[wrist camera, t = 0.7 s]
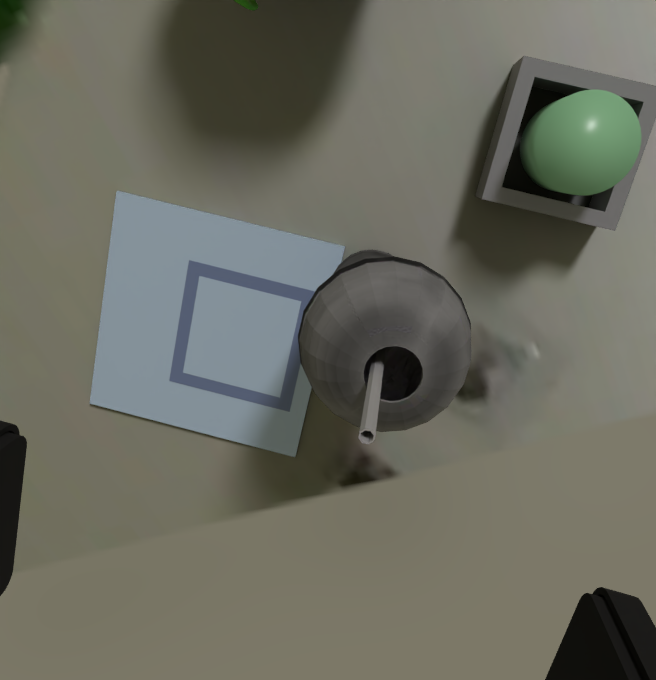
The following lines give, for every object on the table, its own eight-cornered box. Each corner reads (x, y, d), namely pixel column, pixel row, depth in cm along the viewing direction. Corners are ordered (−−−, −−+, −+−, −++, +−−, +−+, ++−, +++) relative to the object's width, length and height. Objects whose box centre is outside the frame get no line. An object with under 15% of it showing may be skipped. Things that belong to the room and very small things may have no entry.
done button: (625, 110, 32) (657, 102, 28) (594, 201, 33) (620, 205, 29) (536, 89, 32) (554, 79, 28) (508, 180, 33) (522, 182, 29)
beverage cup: (441, 330, 38) (552, 510, 19) (325, 358, 38) (315, 559, 19) (417, 212, 36) (513, 276, 17) (294, 242, 36) (250, 338, 17)
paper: (345, 246, 37) (344, 247, 37) (295, 455, 41) (295, 457, 41) (118, 190, 38) (116, 191, 37) (91, 401, 41) (89, 403, 41)
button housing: (643, 95, 33) (666, 88, 30) (597, 225, 35) (615, 230, 32) (513, 65, 33) (523, 55, 30) (475, 196, 35) (481, 198, 32)
